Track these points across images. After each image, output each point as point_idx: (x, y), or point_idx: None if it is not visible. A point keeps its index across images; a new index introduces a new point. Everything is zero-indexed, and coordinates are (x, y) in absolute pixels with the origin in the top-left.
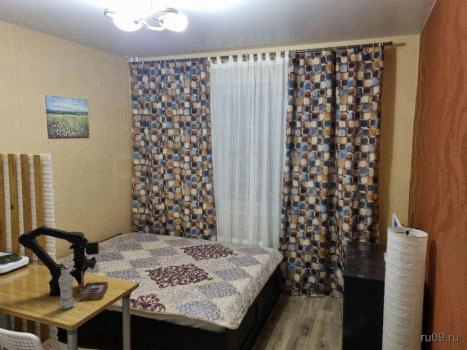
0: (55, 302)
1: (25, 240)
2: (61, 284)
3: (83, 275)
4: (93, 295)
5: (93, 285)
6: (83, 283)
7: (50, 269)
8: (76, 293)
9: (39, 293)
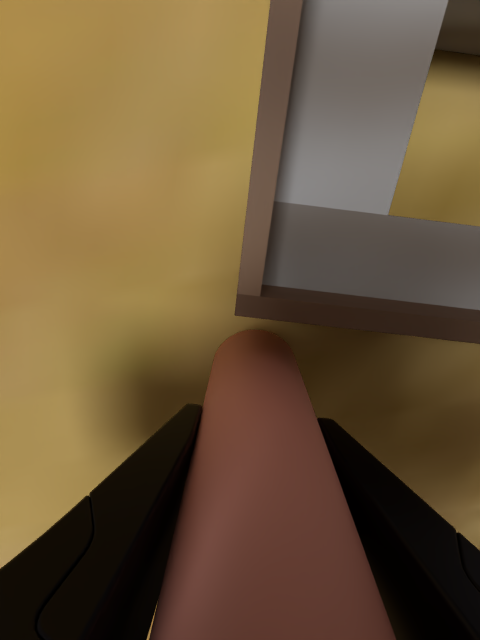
0: (444, 518)
1: None
2: None
3: (304, 563)
4: None
5: (278, 179)
6: (288, 376)
7: None
8: (312, 389)
9: None
